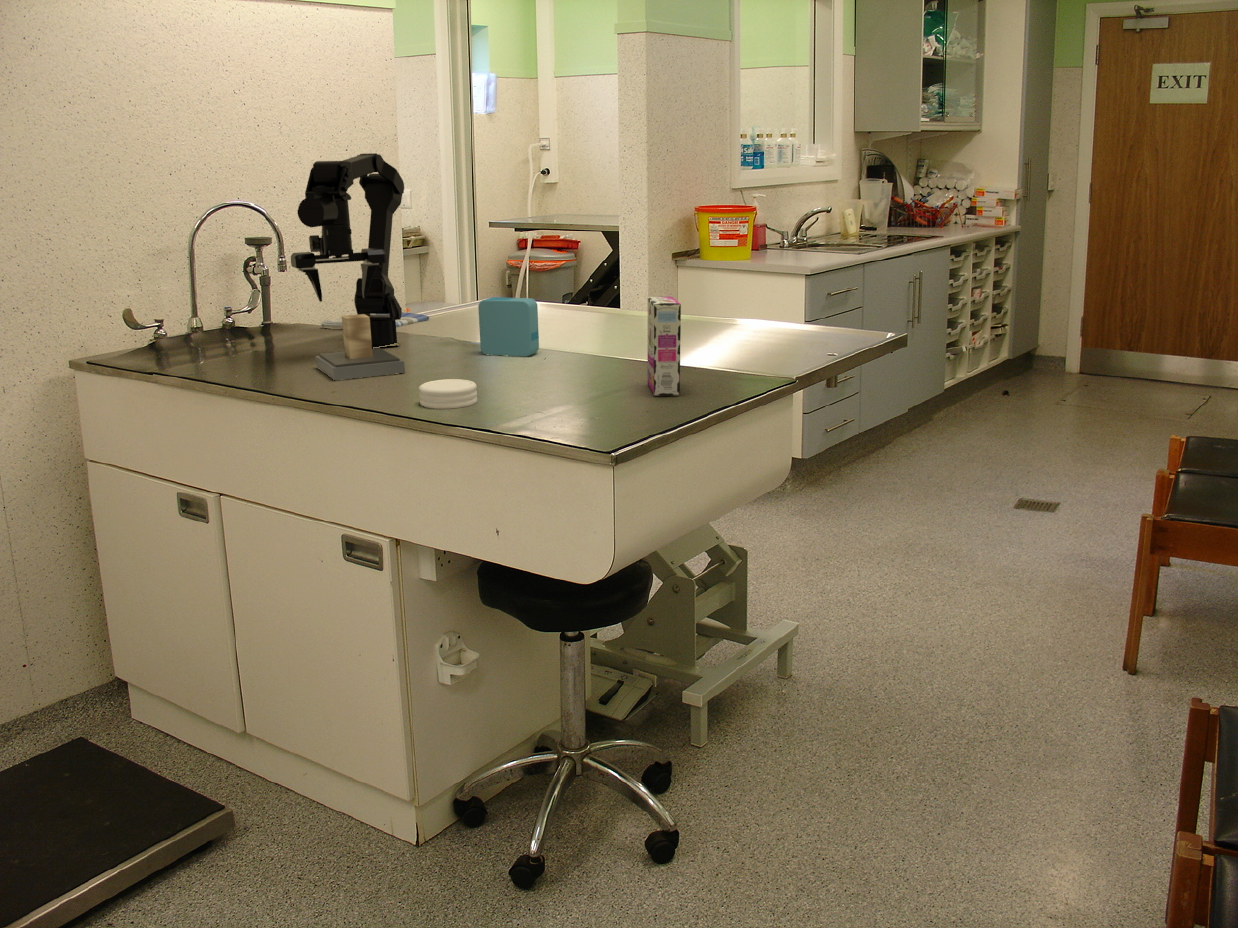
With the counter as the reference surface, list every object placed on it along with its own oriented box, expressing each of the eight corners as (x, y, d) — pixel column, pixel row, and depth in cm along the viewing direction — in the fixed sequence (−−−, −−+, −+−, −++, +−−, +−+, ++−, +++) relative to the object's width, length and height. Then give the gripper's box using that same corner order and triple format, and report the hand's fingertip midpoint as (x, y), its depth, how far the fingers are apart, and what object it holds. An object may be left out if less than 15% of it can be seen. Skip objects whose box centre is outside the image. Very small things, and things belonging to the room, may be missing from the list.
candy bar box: (682, 396, 191) (681, 303, 186) (653, 397, 191) (653, 304, 186) (673, 383, 202) (673, 295, 197) (646, 384, 201) (645, 296, 197)
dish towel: (318, 330, 276) (317, 319, 275) (382, 318, 295) (381, 308, 295) (368, 335, 267) (368, 324, 267) (431, 322, 287) (430, 311, 286)
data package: (539, 353, 235) (537, 298, 231) (531, 357, 231) (529, 301, 227) (489, 351, 239) (486, 297, 235) (480, 355, 234) (477, 299, 231)
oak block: (367, 353, 221) (363, 314, 219) (372, 356, 218) (369, 317, 215) (345, 355, 220) (341, 316, 217) (350, 358, 216) (346, 318, 213)
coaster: (435, 396, 195) (434, 377, 194) (486, 399, 193) (485, 379, 192) (409, 408, 186) (408, 388, 185) (462, 411, 183) (461, 391, 182)
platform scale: (383, 361, 229) (382, 347, 228) (405, 373, 216) (403, 358, 215) (316, 368, 223) (315, 353, 222) (334, 381, 209) (333, 365, 209)
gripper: (370, 220, 234) (376, 292, 239) (282, 224, 226) (289, 299, 231) (384, 222, 225) (390, 297, 229) (292, 227, 217) (300, 305, 221)
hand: (342, 299), depth 228 cm, fingers open, 9 cm apart
